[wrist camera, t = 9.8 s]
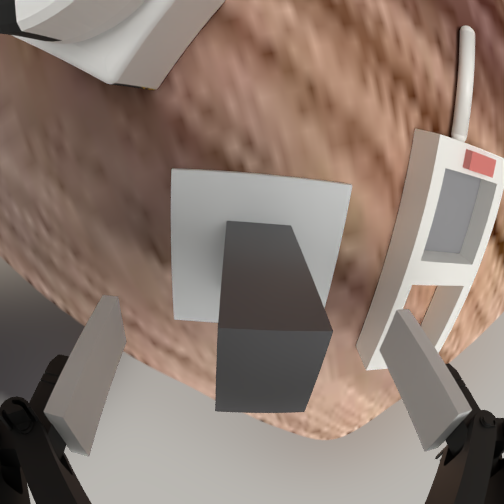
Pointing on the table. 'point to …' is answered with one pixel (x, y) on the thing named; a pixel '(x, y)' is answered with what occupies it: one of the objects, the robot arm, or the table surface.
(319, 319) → the block
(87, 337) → the robot arm
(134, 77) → the medicine bottle
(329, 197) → the mat
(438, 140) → the power strip
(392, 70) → the table surface
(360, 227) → the table surface
